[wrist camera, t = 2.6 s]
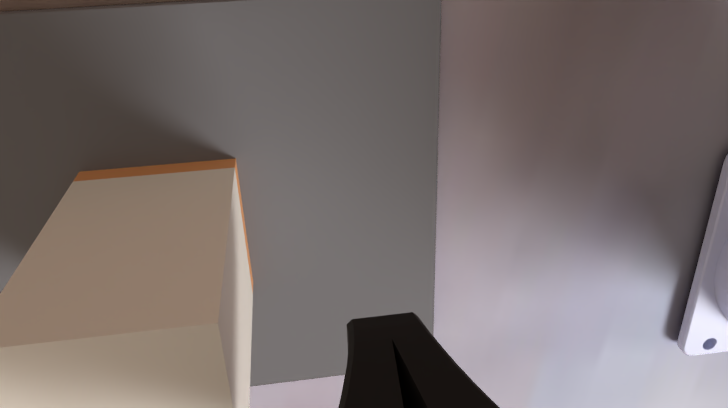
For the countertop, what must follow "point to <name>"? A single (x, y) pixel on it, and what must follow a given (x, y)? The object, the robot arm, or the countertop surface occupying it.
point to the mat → (247, 144)
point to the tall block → (134, 295)
